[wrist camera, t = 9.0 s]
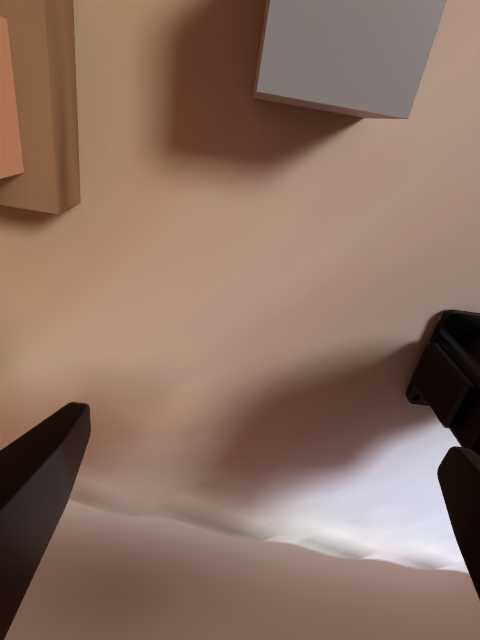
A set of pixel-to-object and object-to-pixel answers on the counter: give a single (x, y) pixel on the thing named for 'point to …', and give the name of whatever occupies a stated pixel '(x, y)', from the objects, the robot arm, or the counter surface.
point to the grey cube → (346, 54)
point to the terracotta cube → (8, 111)
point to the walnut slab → (44, 105)
